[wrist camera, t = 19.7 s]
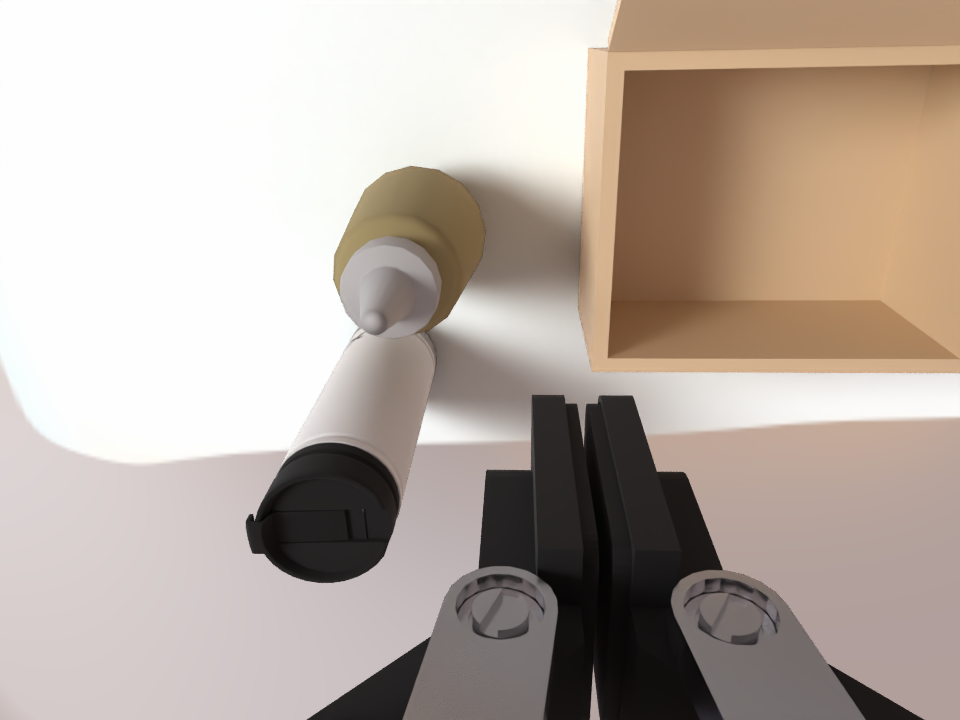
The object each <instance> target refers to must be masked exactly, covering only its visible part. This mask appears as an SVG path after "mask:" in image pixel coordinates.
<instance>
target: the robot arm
mask: <svg viewBox="0 0 960 720" xmlns="http://www.w3.org/2000/svg"><path fill="white" fill-rule="evenodd" d="M593 666H594V674H595V683H596V690H597V699H598V708H599V716H600V720H924V719H922V718H920V717H918V716H917V715H915V714H913V713H912V712H910V711H908V710H906V709H905V708H903V707H901V706H900V705H898V704H896V703H894V702H893V701H891V700H889V699H888V698H886V697H884V696H882V695H881V694H879V693H877V692H875V691H874V690H872V689H870V688H869V687H866V686H865V685H864V684H862V683H860V682H858V681H857V680H855V679H853V678H851V677H850V676H848V675H846V674H845V673H843V672H841V671H839V670H838V669H836V668H834V667H833V666H831V665H829V664H827V662H826V661H825V659H824V658H823V656H822V655H821V653H820V652H819V650H818V649H817V647H816V646H815V645H814V643H813V642H812V640H811V639H810V637H809V636H808V634H807V633H806V631H805V630H804V628H803V627H802V625H801V624H800V622H799V621H798V619H797V618H796V617H795V615H794V614H793V612H792V611H791V609H790V608H789V606H788V605H787V604H786V603H785V602H784V600H783V599H782V598H781V597H780V596H779V595H778V594H777V593H776V592H775V591H774V590H772V589H771V588H769V587H768V586H766V585H765V584H763V583H762V582H760V581H758V580H756V579H753V578H751V577H749V576H746V575H744V574H740V573H735V572H731V571H726V570H723V569H722V566H721V564H720V561H719V559H718V556H717V553H716V550H715V548H714V545H713V543H712V540H711V537H710V535H709V532H708V529H707V527H706V524H705V522H704V519H703V516H702V514H701V511H700V509H699V506H698V503H697V501H696V498H695V496H694V493H693V490H692V487H691V485H690V483H689V480H688V478H687V476H686V474H685V473H684V472H657V471H656V468H655V464H654V461H653V458H652V455H651V452H650V449H649V446H648V443H647V439H646V436H645V433H644V430H643V426H642V423H641V420H640V417H639V414H638V411H637V407H636V404H635V401H634V398H633V396H599V398H598V404H587V405H586V414H585V435H584V446H583V439H582V432H581V426H580V420H579V413H578V407H577V404H565V398H564V395H532V427H531V470H487V471H486V479H485V492H484V505H483V518H482V531H481V545H480V557H479V569H477V570H475V571H472V572H470V573H468V574H466V575H464V576H462V577H461V578H460V579H459V580H457V581H456V582H455V583H454V584H453V585H452V586H451V587H450V589H449V591H448V593H447V594H446V596H445V598H444V600H443V603H442V607H441V609H440V612H439V615H438V618H437V621H436V624H435V627H434V629H433V632H432V635H431V637H429V638H428V639H426V640H425V641H423V642H422V643H421V644H419V645H417V646H416V647H414V648H413V649H412V650H410V651H408V652H407V653H406V654H404V655H402V656H401V657H400V658H398V659H397V660H395V661H394V662H392V663H391V664H389V665H388V666H386V667H385V668H383V669H382V670H380V671H379V672H377V673H376V674H374V675H373V676H371V677H370V678H368V679H367V680H365V681H364V682H362V683H361V684H359V685H358V686H356V687H355V688H353V689H352V690H350V691H349V692H347V693H346V694H344V695H343V696H341V697H340V698H339V699H337V700H335V701H334V702H332V703H331V704H329V705H328V706H327V707H325V708H324V709H322V710H320V711H319V712H318V713H316V714H314V715H313V716H312V717H310V718H309V719H307V720H590V707H591V690H592V674H593Z"/></svg>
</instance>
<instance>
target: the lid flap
mask: <svg viewBox="0 0 960 720" xmlns="http://www.w3.org/2000/svg"><path fill="white" fill-rule="evenodd" d="M922 45H960V0H618V1H617V5H616V9H615V13H614V17H613V21H612V25H611V29H610V33H609V37H608V52H628V51H677V50H726V49H775V48H824V47H873V46H922Z"/></svg>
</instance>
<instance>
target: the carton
mask: <svg viewBox="0 0 960 720" xmlns="http://www.w3.org/2000/svg"><path fill="white" fill-rule="evenodd" d="M578 310H579V314H580V319H581V324H582V328H583V333H584V338H585V342H586V347H587V351H588V356H589V361H590V365H591V370H592V372H801V373H960V45H922V46H873V47H824V48H775V49H726V50H677V51H628V52H608V48H588V69H587V95H586V120H585V146H584V171H583V197H582V222H581V248H580V273H579V299H578Z"/></svg>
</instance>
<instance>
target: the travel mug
mask: <svg viewBox="0 0 960 720" xmlns="http://www.w3.org/2000/svg"><path fill="white" fill-rule="evenodd" d="M435 368H436V352H435V348H434V346H433V343H432V341H431V340H430V338H429V337H428V335H427V334H426V333H425V332H422V333H417V334H414V335H410V336H406V337H402V338H398V339H390V338H383V337H376V336H374V335H370V334H368V333H367V332H365V331H364V330H363V329H361V328H358V329H357V331H356V332H355V333H354V335H353V336H352V338H351V340H350V341H349V343H348V345H347V347H346V349H345V350H344V352H343V354H342V356H341V358H340V359H339V361H338V363H337V365H336V367H335V368H334V370H333V372H332V374H331V376H330V377H329V379H328V381H327V383H326V385H325V386H324V388H323V390H322V392H321V394H320V395H319V397H318V399H317V401H316V403H315V404H314V406H313V408H312V410H311V412H310V413H309V415H308V417H307V419H306V421H305V422H304V424H303V426H302V428H301V430H300V431H299V433H298V435H297V437H296V439H295V440H294V442H293V444H292V446H291V448H290V449H289V451H288V453H287V455H286V457H285V459H284V461H283V462H282V464H281V466H280V468H279V470H278V472H277V475H276V478H275V479H274V481H273V482H272V484H271V486H270V488H269V490H268V492H267V494H266V495H265V497H264V499H263V501H262V503H261V505H260V507H259V509H258V512H257V515H256V519H255V521H254V516H253V514H250V515H249V517H248V518H247V520H246V530H247V536H248V540H249V544H250V548H251V550H252V553H254V554H265V555H266V557H267V558H268V559H269V560H270V561H271V562H272V564H274V565H275V566H276V567H278V568H279V569H280V570H282V571H283V572H285V573H287V574H289V575H291V576H293V577H296V578H299V579H302V580H305V581H311V582H317V583H334V582H341V581H346V580H349V579H352V578H355V577H358V576H360V575H362V574H363V573H366V572H367V571H369V570H370V569H371V568H373V567H374V566H375V565H376V564H377V563H378V562H379V561H380V560H381V559H382V558H383V557H384V555H385V552H386V548H387V546H388V543H389V540H390V538H391V535H392V533H393V530H394V526H395V522H396V519H397V517H398V514H399V511H400V507H401V503H402V499H403V495H404V491H405V487H406V483H407V479H408V475H409V471H410V468H411V464H412V460H413V456H414V452H415V448H416V444H417V440H418V436H419V432H420V428H421V424H422V420H423V416H424V412H425V408H426V404H427V400H428V396H429V392H430V388H431V384H432V380H433V376H434V372H435Z"/></svg>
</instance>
